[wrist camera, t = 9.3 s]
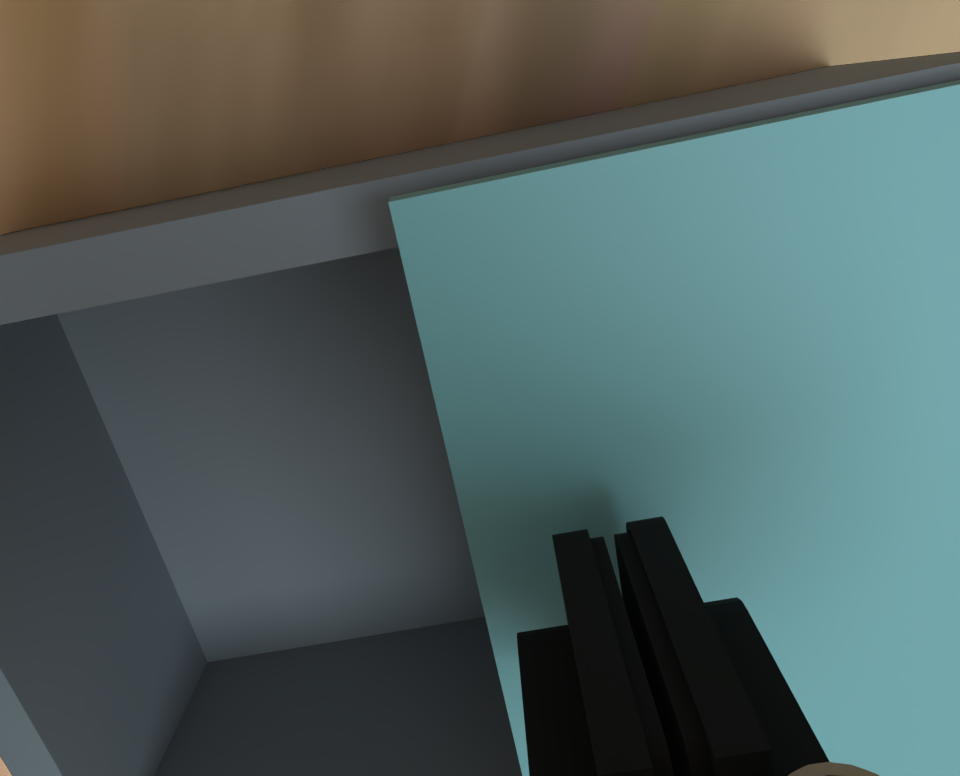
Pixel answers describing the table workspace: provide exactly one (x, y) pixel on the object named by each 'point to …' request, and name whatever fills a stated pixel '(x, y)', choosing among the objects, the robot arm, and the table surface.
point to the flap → (723, 393)
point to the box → (266, 469)
